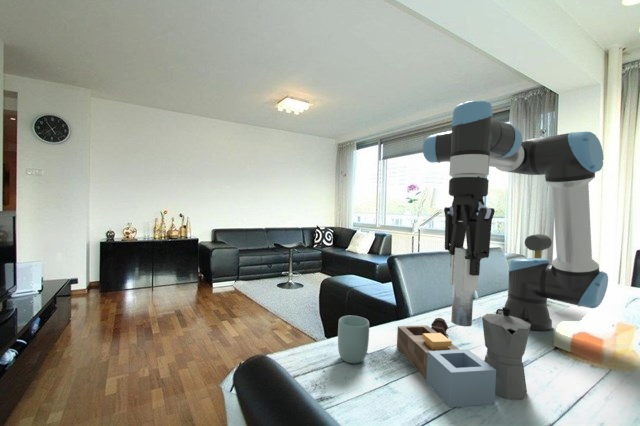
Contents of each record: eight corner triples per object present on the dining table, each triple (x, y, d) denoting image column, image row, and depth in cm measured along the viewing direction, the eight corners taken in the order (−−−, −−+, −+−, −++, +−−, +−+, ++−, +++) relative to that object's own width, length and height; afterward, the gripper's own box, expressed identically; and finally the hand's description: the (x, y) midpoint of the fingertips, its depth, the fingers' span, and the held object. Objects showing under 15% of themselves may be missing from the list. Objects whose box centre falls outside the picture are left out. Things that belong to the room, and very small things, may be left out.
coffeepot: (535, 411, 61) (540, 320, 60) (482, 398, 64) (486, 312, 64) (517, 373, 75) (521, 299, 75) (474, 364, 79) (478, 294, 78)
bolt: (442, 334, 102) (439, 350, 89) (428, 323, 104) (423, 338, 91) (452, 320, 101) (450, 335, 88) (438, 310, 103) (434, 323, 90)
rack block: (466, 379, 72) (467, 349, 71) (494, 403, 63) (496, 369, 62) (426, 381, 70) (427, 351, 70) (449, 407, 61) (451, 372, 61)
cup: (333, 363, 76) (334, 323, 76) (341, 350, 84) (343, 313, 83) (364, 370, 74) (365, 328, 73) (370, 356, 81) (372, 318, 81)
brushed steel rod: (447, 319, 68) (450, 246, 67) (463, 319, 68) (467, 247, 68) (458, 326, 64) (462, 249, 63) (476, 326, 64) (479, 249, 64)
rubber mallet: (538, 303, 135) (542, 235, 134) (520, 299, 141) (523, 233, 140) (550, 299, 142) (553, 234, 141) (531, 295, 148) (535, 233, 147)
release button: (439, 359, 78) (440, 332, 78) (450, 369, 73) (451, 341, 73) (421, 360, 77) (422, 333, 77) (431, 370, 72) (433, 341, 72)
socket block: (426, 346, 88) (427, 325, 88) (461, 376, 72) (462, 351, 72) (396, 347, 87) (397, 326, 86) (425, 379, 71) (427, 353, 71)
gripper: (516, 174, 58) (509, 299, 58) (459, 181, 74) (455, 278, 75) (480, 172, 56) (473, 299, 57) (431, 179, 73) (426, 278, 74)
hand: (463, 287), depth 66 cm, fingers closed on brushed steel rod, 4 cm apart
